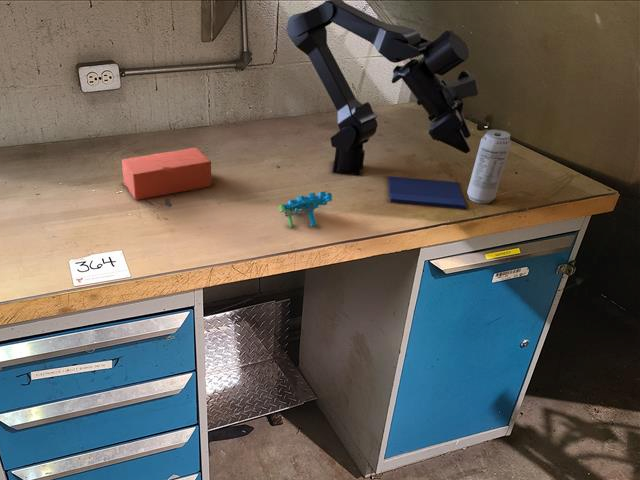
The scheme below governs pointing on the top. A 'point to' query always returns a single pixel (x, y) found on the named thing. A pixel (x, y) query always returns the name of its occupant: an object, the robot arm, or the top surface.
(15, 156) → the top surface
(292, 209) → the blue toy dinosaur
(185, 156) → the brick
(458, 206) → the book
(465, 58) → the robot arm
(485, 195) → the energy drink can
